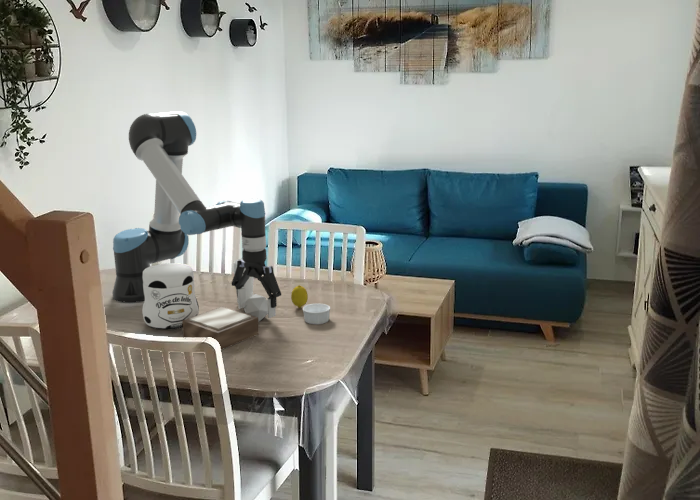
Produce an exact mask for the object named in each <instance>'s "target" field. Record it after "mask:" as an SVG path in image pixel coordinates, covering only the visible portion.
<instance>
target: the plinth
mask: <svg viewBox="0 0 700 500" xmlns="http://www.w3.org/2000/svg"><path fill="white" fill-rule="evenodd" d="M182 323H183V328H182V336H183V338H184V337H212V338H214V339H216V340H217V341H218V342H219V344H220V346H221V349H222V350H224V349H223V348H225V349H227V348H230V347H232V346H234V345H236V344H238V343H241V342H244V341H246V340H248V339H251V338H254V337H255V336H258V335H259V334H260V331H259V330H260V329H259V322H258V317H255V316H252V315H249V314H246V313H245V312H242V311H239V310H235V309H233V308H230V307H226V306H224V305H223V306H219V307H216V308H214V309H211V310H208V311H206V312H202V313H200V314H199V313H198V315H197V316H194V317H191V318H188V319H185V320H183V321H182ZM231 345H232V346H231ZM226 347H227V348H226Z"/></svg>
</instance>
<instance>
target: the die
mask: <svg viewBox="0 0 700 500" xmlns="http://www.w3.org/2000/svg"><path fill="white" fill-rule="evenodd" d="M243 307H244V308H243V311H244V313H246V314H249V315H252V316H255V317H258V323H259V322H260V321H262V320H263V319H264V318H265V317H266V316H268V303H267V297H265V296H264V295H260V294H257V293H253V295H252V296H251V297H250V298H249V299H248V300H247V301H245V302H244V303H243Z"/></svg>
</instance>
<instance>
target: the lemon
mask: <svg viewBox="0 0 700 500" xmlns="http://www.w3.org/2000/svg"><path fill="white" fill-rule="evenodd" d="M308 294H309V293H308V291H307V289H306V288H305V287H304V286H302V285H300V284H299V285H297V286H295V287H294V288H293V289H292V291H291V294H290V298H291V302H292V304H293V306H295V307H297V308H299V309H301V308H303V307H304V306H306V305H307V303H308V300H309V299H308V298H309V295H308Z"/></svg>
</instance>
